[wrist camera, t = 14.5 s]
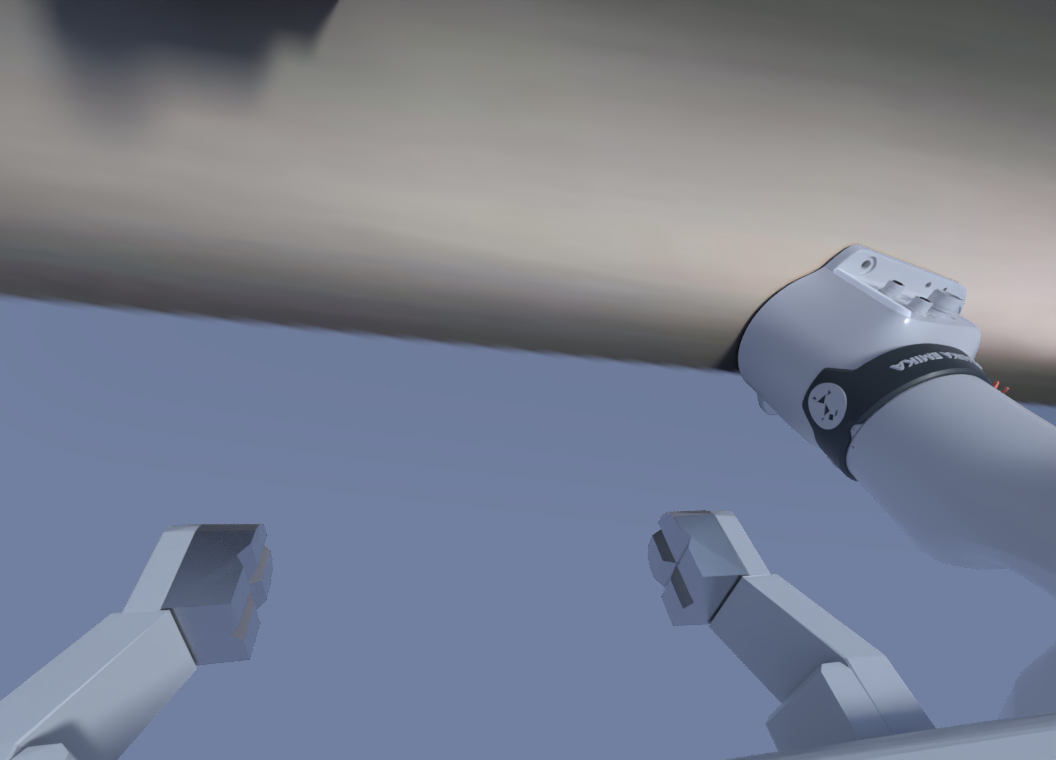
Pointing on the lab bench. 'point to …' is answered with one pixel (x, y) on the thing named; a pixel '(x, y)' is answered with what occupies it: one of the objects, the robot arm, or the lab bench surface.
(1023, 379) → the lab bench surface
